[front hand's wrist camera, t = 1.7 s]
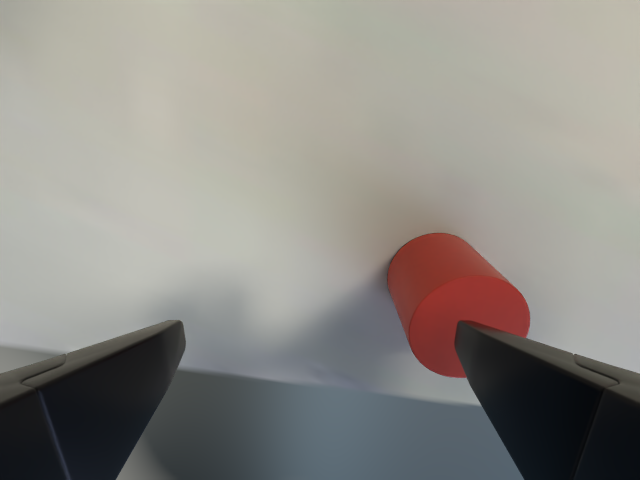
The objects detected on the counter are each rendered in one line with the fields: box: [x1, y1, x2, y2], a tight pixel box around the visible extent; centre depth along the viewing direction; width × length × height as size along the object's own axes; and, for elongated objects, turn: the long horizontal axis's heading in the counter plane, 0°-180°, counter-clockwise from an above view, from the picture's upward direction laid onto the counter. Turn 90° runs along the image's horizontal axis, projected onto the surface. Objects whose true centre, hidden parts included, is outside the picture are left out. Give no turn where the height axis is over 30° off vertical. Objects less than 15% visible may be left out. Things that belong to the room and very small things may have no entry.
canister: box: [387, 233, 530, 378], centre depth 17 cm, size 5×5×5 cm
